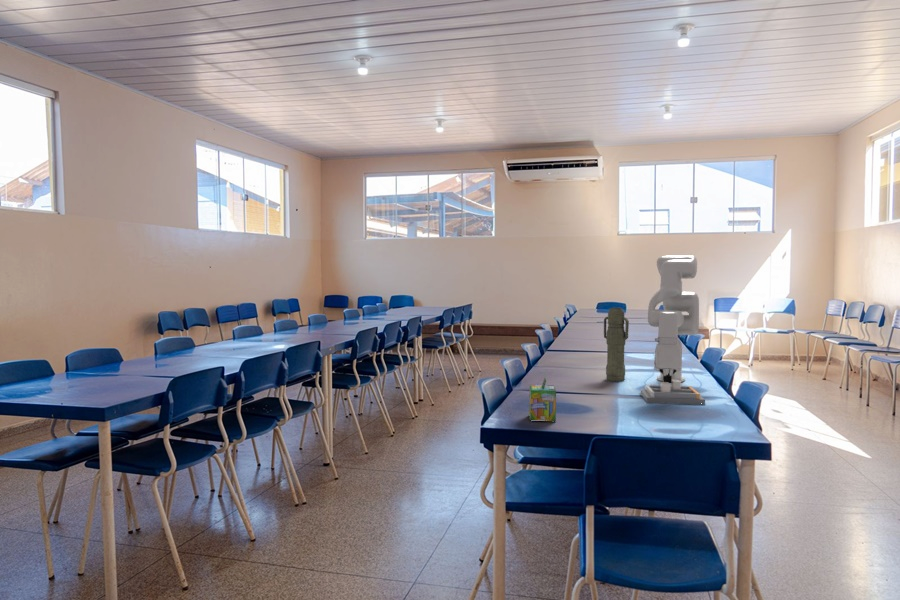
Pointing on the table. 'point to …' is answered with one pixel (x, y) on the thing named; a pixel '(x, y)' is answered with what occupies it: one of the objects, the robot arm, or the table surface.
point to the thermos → (615, 343)
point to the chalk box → (542, 402)
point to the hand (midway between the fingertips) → (667, 384)
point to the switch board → (672, 395)
